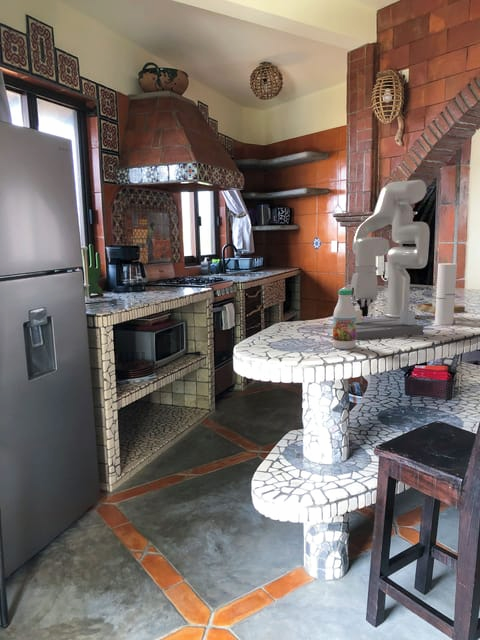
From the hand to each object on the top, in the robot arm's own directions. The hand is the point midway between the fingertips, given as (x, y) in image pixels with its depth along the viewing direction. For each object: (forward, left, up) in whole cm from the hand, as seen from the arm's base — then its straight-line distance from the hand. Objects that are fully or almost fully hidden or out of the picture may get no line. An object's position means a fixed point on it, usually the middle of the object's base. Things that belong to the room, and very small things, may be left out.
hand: (363, 315), depth 186 cm
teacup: (-26, +56, -6) cm, 62 cm away
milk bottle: (+22, -20, -6) cm, 31 cm away
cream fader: (0, -4, -2) cm, 4 cm away
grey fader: (+10, +13, -2) cm, 17 cm away
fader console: (+5, +3, -6) cm, 8 cm away
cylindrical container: (-1, +38, -6) cm, 39 cm away
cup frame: (-28, +57, -6) cm, 64 cm away
